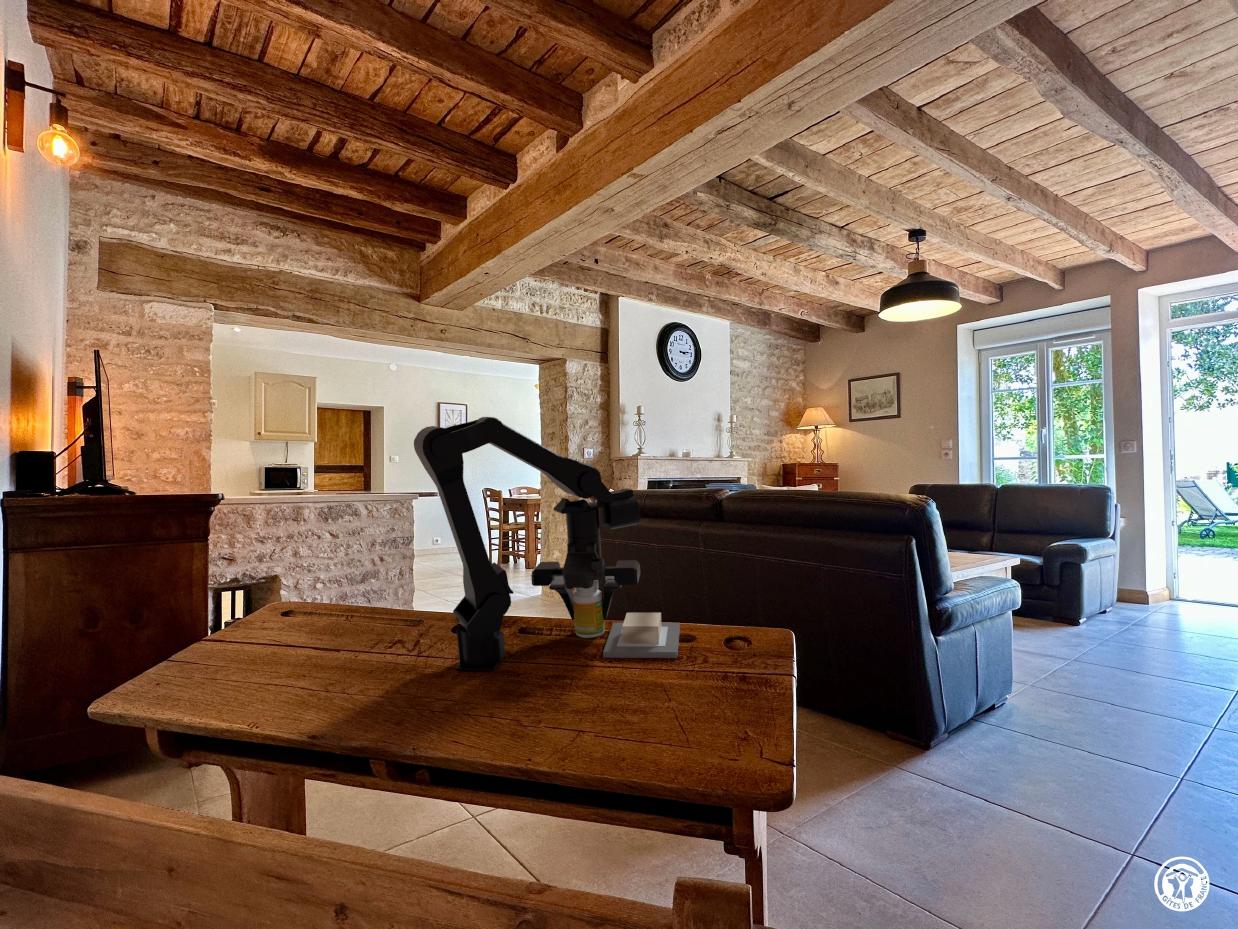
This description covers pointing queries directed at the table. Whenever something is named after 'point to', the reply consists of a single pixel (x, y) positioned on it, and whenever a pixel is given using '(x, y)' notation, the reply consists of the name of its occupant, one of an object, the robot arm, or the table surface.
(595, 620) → the supplement bottle
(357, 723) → the table surface
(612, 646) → the baseplate
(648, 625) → the birch block
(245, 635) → the table surface
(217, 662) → the table surface
